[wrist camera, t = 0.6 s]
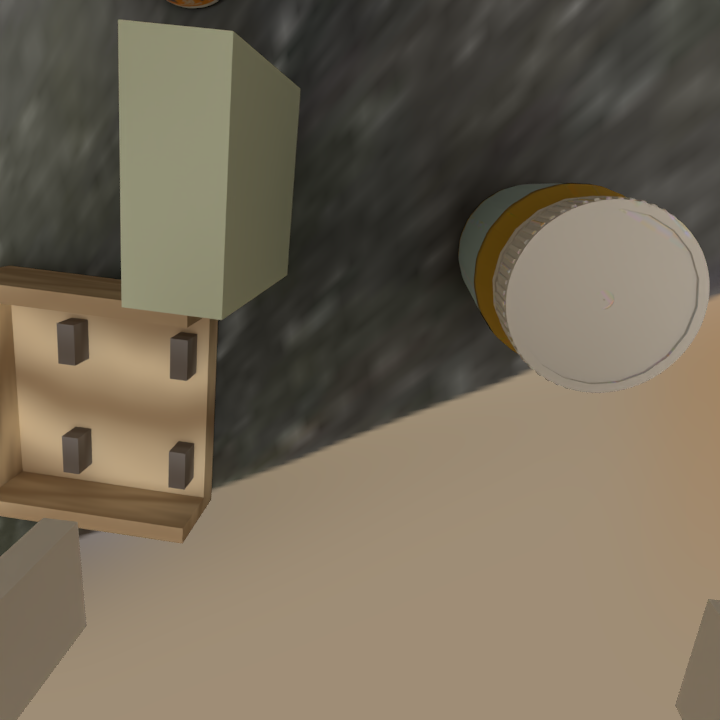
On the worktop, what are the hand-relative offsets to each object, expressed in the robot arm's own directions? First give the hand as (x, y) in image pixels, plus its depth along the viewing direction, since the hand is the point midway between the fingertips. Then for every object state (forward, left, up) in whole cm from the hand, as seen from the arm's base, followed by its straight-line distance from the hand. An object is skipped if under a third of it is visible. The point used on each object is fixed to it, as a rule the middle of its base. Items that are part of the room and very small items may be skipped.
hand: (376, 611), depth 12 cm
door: (-8, -9, -23) cm, 26 cm away
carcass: (+6, -18, -23) cm, 30 cm away
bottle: (-6, +6, -23) cm, 25 cm away
